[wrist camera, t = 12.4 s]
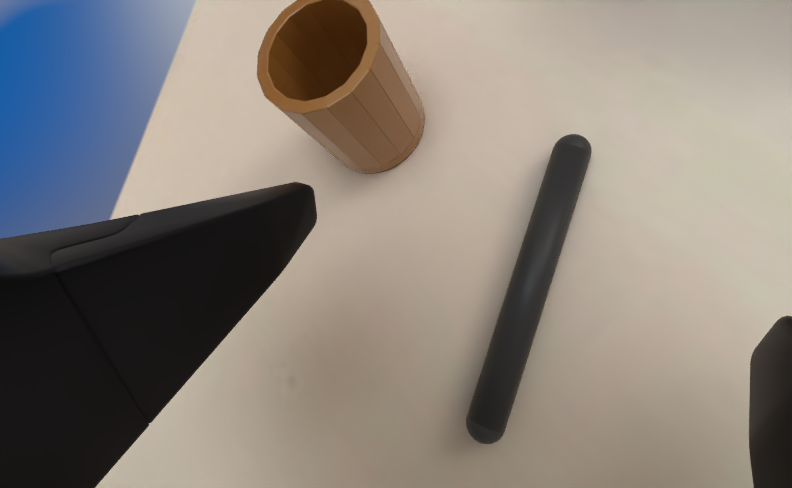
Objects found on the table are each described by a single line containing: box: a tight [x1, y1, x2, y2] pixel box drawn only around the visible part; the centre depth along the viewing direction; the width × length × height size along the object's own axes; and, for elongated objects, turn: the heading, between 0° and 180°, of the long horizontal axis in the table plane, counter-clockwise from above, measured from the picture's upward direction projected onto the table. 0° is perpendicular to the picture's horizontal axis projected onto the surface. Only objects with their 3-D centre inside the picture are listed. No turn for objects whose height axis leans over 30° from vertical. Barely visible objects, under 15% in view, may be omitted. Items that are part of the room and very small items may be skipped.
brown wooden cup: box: [257, 0, 424, 173], centre depth 16 cm, size 4×4×6 cm
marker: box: [466, 134, 591, 444], centre depth 15 cm, size 6×1×10 cm
